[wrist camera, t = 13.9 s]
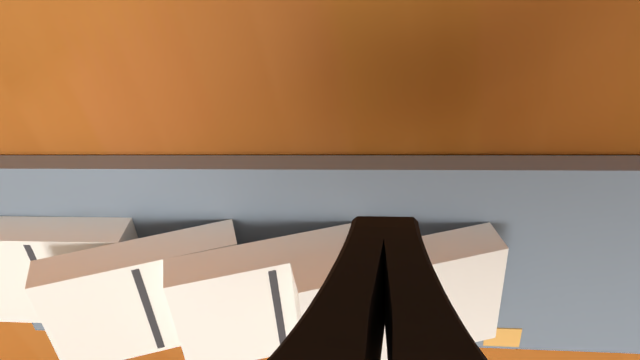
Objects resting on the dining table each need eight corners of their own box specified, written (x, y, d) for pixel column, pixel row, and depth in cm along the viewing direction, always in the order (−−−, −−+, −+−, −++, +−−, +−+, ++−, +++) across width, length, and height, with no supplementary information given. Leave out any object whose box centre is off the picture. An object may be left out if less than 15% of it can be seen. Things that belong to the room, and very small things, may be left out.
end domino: (117, 242, 25) (-65, 240, 26) (146, 326, 27) (-18, 321, 28) (131, 217, 26) (-42, 215, 27) (158, 299, 29) (0, 295, 30)
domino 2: (374, 246, 23) (163, 288, 22) (376, 333, 26) (189, 374, 25) (363, 220, 25) (163, 258, 24) (366, 306, 28) (188, 343, 27)
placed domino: (509, 248, 23) (298, 293, 22) (495, 337, 26) (309, 381, 24) (489, 221, 24) (290, 262, 23) (478, 309, 27) (301, 349, 26)
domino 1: (237, 243, 24) (24, 289, 23) (253, 329, 27) (66, 373, 26) (231, 218, 25) (30, 260, 24) (248, 302, 28) (69, 344, 27)
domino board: (721, 155, 22) (734, 172, 21) (654, 336, 28) (661, 355, 27) (-33, 155, 26) (-48, 169, 25) (44, 315, 32) (34, 331, 31)
